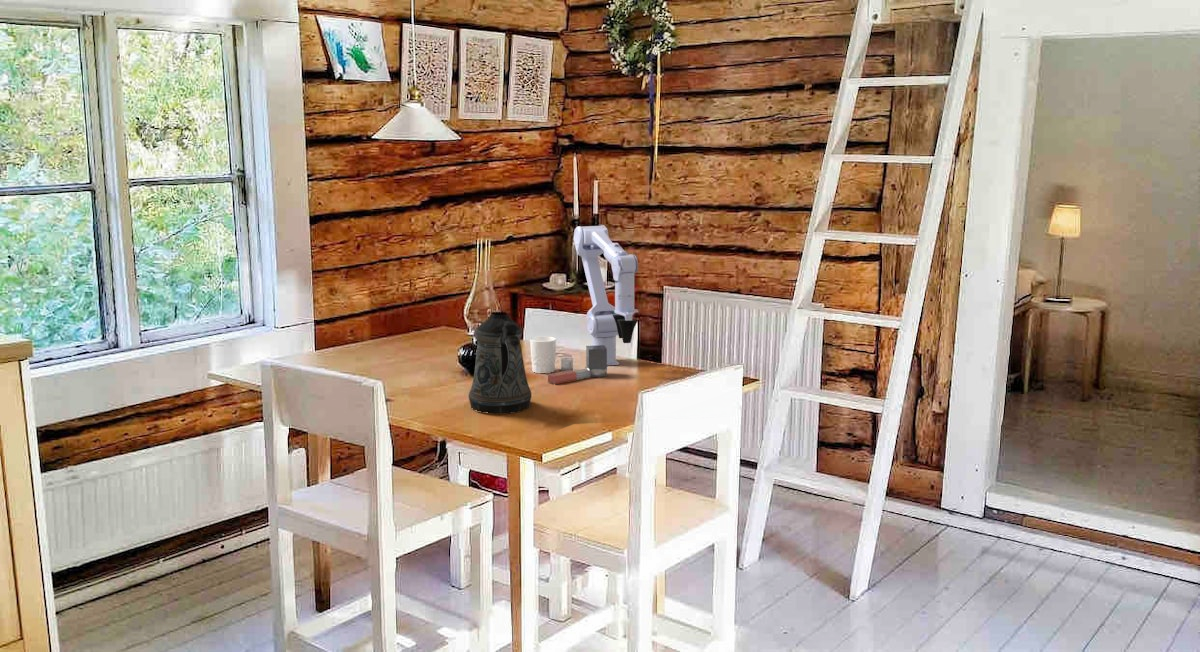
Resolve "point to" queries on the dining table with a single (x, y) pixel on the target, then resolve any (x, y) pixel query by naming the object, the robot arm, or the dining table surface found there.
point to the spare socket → (566, 364)
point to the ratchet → (575, 375)
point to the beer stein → (499, 367)
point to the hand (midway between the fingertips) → (624, 340)
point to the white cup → (543, 354)
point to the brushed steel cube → (596, 357)
